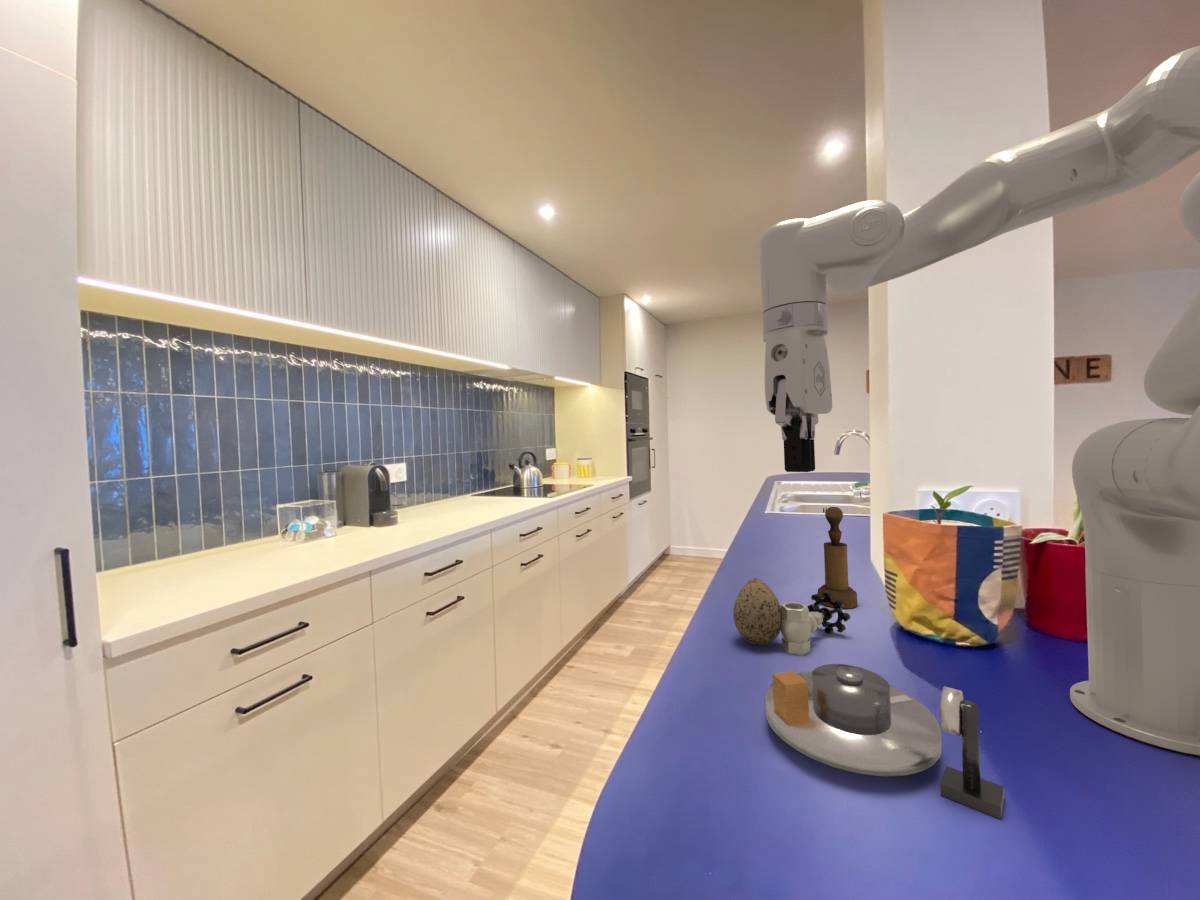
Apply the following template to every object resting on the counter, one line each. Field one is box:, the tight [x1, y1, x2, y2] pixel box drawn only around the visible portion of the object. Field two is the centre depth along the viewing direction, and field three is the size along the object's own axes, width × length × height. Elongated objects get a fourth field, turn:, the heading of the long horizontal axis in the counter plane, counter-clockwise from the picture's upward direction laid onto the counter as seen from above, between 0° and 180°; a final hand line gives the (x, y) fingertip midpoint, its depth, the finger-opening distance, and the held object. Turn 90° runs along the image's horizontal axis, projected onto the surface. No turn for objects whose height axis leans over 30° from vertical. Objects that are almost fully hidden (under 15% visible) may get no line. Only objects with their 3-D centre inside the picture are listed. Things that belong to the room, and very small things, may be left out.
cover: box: [812, 663, 891, 735], centre depth 48 cm, size 7×7×4 cm
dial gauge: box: [939, 686, 1005, 820], centre depth 40 cm, size 4×4×9 cm
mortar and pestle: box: [817, 506, 858, 609], centre depth 88 cm, size 7×6×18 cm
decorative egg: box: [732, 577, 783, 646], centre depth 73 cm, size 7×7×10 cm
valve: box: [780, 591, 851, 656], centre depth 72 cm, size 7×7×12 cm
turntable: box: [764, 670, 942, 777], centre depth 49 cm, size 16×16×6 cm
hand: (799, 471), depth 60 cm, fingers closed
